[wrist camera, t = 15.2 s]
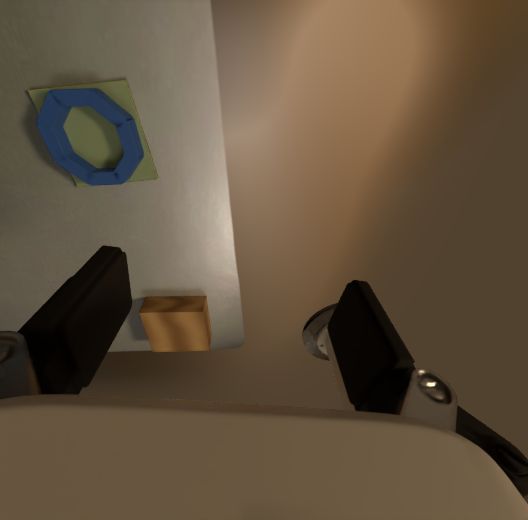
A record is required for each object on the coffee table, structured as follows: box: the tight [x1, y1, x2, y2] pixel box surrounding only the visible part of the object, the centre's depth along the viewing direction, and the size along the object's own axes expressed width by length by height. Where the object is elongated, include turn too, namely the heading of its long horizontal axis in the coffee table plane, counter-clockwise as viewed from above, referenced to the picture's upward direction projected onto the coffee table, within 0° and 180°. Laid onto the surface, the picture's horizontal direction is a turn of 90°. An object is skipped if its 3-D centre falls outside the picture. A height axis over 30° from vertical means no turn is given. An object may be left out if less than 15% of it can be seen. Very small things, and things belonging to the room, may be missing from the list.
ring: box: [36, 88, 144, 185], centre depth 30 cm, size 10×10×2 cm
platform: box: [139, 296, 212, 352], centre depth 49 cm, size 11×11×4 cm
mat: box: [27, 80, 158, 187], centre depth 31 cm, size 11×11×1 cm
